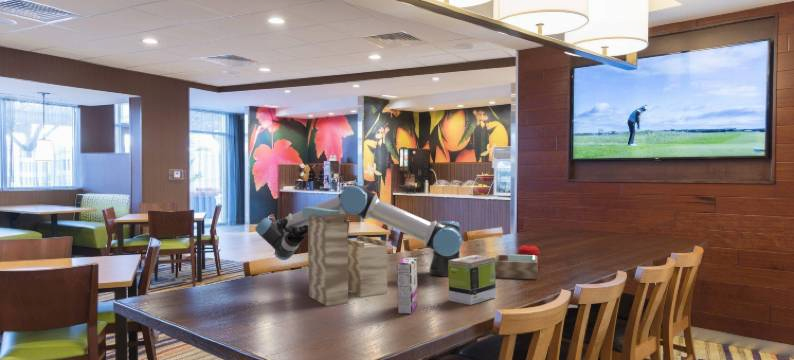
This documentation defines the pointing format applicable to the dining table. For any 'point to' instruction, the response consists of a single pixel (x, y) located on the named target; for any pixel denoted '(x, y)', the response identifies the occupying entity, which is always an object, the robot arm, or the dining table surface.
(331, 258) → the stand
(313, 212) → the bar
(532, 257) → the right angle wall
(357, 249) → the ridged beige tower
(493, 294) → the tea box
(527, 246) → the apple
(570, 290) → the dining table surface
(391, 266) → the dining table surface
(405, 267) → the candy bar box
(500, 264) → the caddy
